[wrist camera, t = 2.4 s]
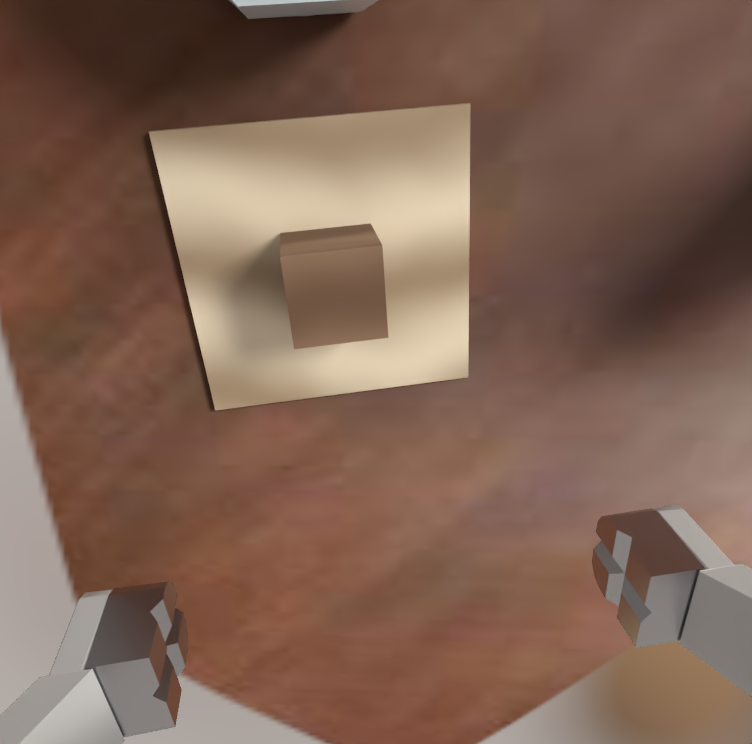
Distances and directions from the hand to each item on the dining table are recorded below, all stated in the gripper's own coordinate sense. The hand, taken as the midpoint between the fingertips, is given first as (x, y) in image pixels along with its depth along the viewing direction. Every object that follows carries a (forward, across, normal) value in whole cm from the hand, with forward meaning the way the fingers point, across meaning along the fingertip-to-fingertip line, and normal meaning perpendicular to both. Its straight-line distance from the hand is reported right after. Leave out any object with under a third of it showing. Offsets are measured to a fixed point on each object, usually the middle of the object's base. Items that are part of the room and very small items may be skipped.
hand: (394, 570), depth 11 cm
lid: (+19, 0, 0) cm, 19 cm away
